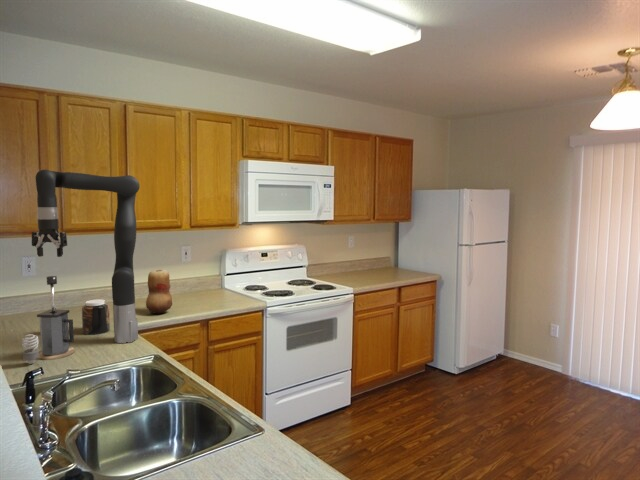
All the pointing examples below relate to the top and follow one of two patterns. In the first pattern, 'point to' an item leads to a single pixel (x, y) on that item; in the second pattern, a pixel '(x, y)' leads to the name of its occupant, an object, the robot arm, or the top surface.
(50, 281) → the plunger
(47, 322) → the carafe
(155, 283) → the butternut squash
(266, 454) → the top surface
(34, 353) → the light bulb
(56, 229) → the robot arm
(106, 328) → the jar
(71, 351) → the disc
